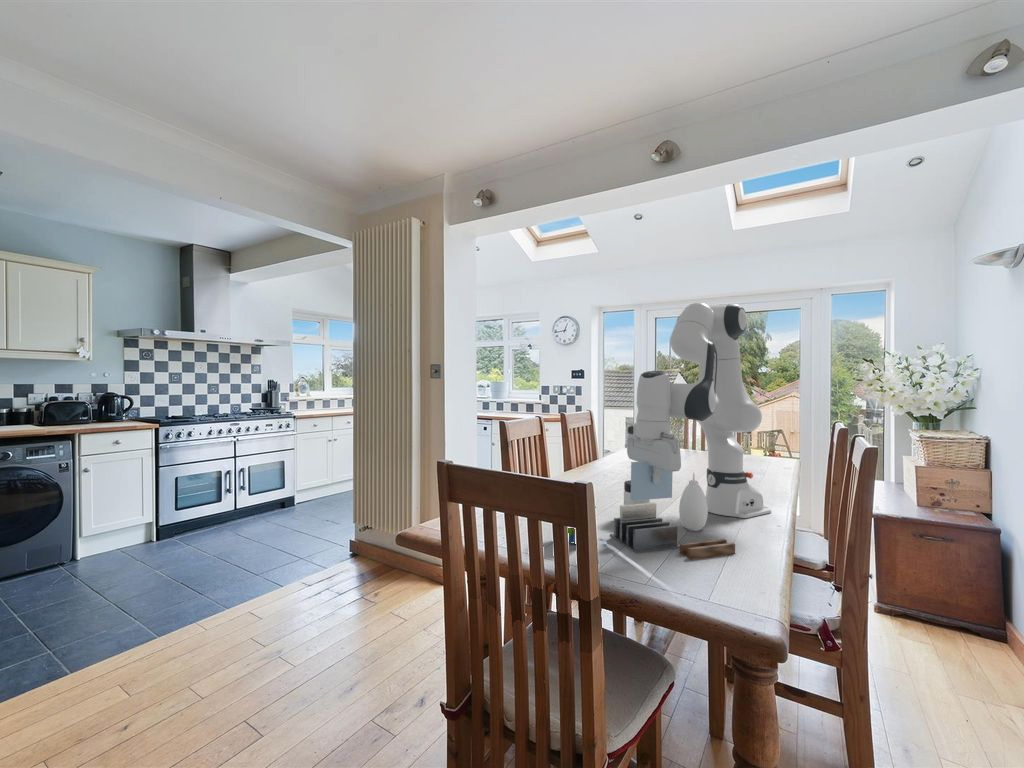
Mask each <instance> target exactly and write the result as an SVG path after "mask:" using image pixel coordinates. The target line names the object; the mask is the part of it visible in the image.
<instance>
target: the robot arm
mask: <svg viewBox="0 0 1024 768" xmlns="http://www.w3.org/2000/svg"><path fill="white" fill-rule="evenodd" d="M747 322H748V317H747V313H746V310H745V309H744V308H743V306H741V305H740V304H735V303H733V304H731V303H729V304H727V305H726V304H725V305H723V304H722V305H720V304H719V305H710V306H709V305H707V304H705V303H702V302H693V303H691V304H689V305H687V306H686V307H685V308H684V310H683V311H682V312H681V313H680V314H679V316H678V317H677V318H676V322H675V325H674V327H673V329H672V332H671V335H670V340H669V341H670V347H671V349H672V351H673V353H674V354H676V356H677V357H679V358H680V359H682V360H684V361H687V362H690V363H694V364H696V365H699V367H698V368H699V369H698V379H697V381H695V382H692V383H674V382H671V381H670V375H669V373H668V372H667V371H664V370H652V371H650V370H649V371H645V372H643V373H641V374H640V375H639V377H638V382H637V388H636V406H637V415H636V420H635V421H636V422H635V423H633V424H631V425H628V426H627V427H626V434H628V435H627V437H626V454H627V457H628V459H629V460H633V461H634V462H648V465H650V466H653V471H654V473H653V476H651V482H652V483H659V482H660V476H661V474H662V472H663V470H665V471H668V472H672V473H674V472H679V471H680V469H682V468H681V467H682V456H681V448H680V444H679V442H678V441H679V440H677V438H676V436H675V435H674V434H671V418H675V419H688V420H694V421H697V422H698V423H699V425H700V426H701V428H702V431H703V433H704V436H705V440H706V444H707V445H706V446H707V453H708V454H707V456H708V457H707V466H708V467H707V468H706V482H707V484H706V491H705V498H706V502H707V508H708V513H710V514H715V515H720V516H727V517H735V518H741V519H749V518H752V517H753V518H754V517H757V516H762V515H767V514H771V513H772V509H771V508H769V507H768V506H766V505H764V498H763V494H762V493H761V492H760V491H759V490H758V489H756V488H755V487H754V486H753V485H752V484H750V483H749V482H748V479H753V478H754V474H753V472H749V471H746V472H745V471H744V449H743V447H742V446H741V444H740V443H739V442H738V441H737V439H736V436H735V434H734V433H739V434H740V433H750V432H751V433H752V432H754V431H756V430H757V429H758V428H759V427H760V425H761V423H762V419H763V417H762V416H763V415H762V411H761V409H760V407H759V406H758V405H757V404H756V403H755V402H754V401H753V400H752V399H751V398H750V396H749V394H748V392H747V389H746V387H745V385H744V382H743V375H742V374H743V373H742V363H741V351H740V345H739V340H738V339H739V337H740V336H741V335H743V333H744V332H745V331H746V329H747V325H748V324H747ZM747 478H748V479H747Z"/></svg>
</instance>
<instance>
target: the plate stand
mask: <svg viewBox="0 0 1024 768" xmlns="http://www.w3.org/2000/svg"><path fill="white" fill-rule="evenodd" d="M679 545H680V548H679V552H678V553H679V554H680V555H682V556H684V557H685V558H687V559H689V560H690V561H693V560H702V559H708V558H715V557H722V556H730V555H737V553H736V543H734V542H728V540H727V539H726V538H719V539H711V540H703V541H702V540H701V541H696V542H695V541H693V542H686V543H685V542H684V543H680V544H679Z"/></svg>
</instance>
